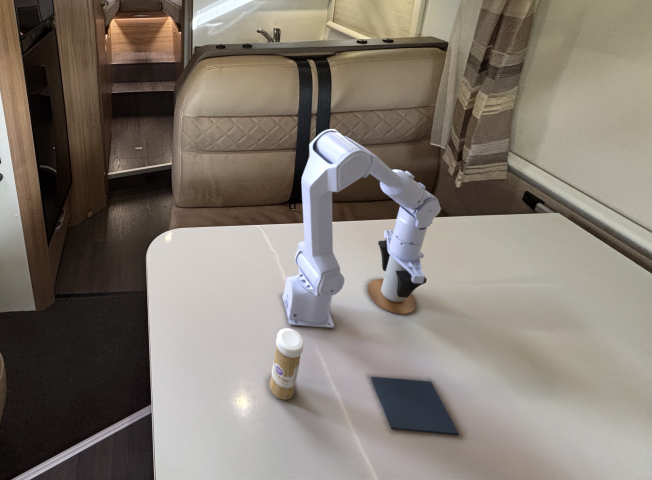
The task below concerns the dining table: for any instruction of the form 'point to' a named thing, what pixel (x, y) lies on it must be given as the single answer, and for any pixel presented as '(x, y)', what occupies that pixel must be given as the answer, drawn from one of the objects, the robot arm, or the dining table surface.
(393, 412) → the slate pad
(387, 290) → the beverage can
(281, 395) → the sprinkles bottle
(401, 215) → the robot arm
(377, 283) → the cork coaster
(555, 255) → the dining table surface
